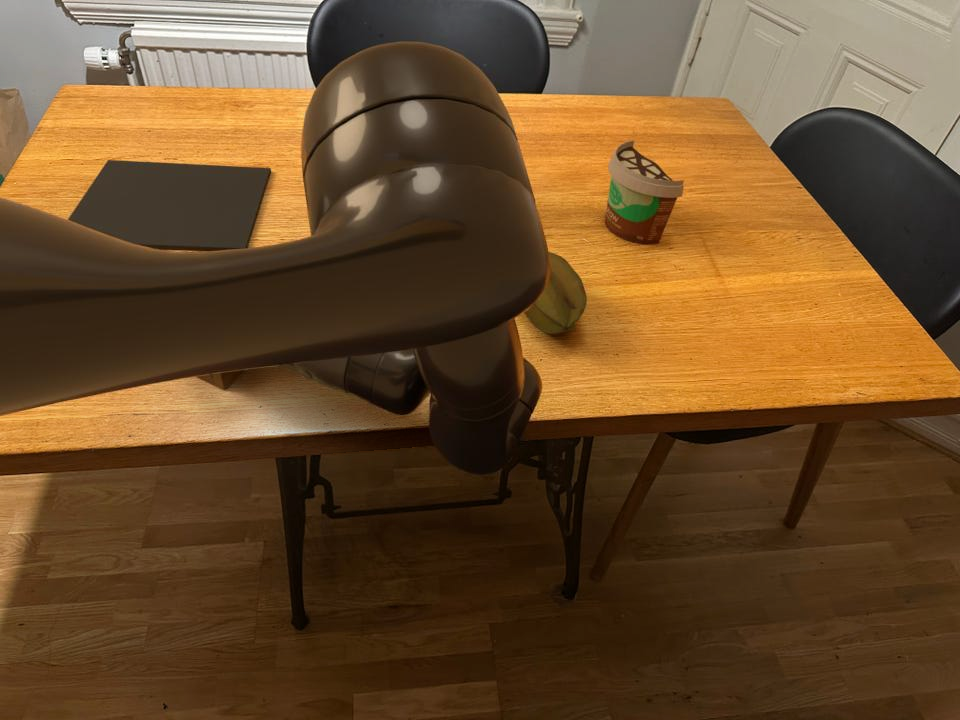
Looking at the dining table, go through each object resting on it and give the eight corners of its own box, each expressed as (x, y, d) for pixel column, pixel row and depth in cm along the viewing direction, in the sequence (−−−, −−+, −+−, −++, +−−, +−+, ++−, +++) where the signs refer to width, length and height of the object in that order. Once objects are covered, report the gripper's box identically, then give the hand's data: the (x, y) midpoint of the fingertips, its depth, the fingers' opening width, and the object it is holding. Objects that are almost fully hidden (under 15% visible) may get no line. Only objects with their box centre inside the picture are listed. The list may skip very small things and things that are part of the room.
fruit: (601, 302, 84) (613, 257, 79) (565, 360, 76) (576, 314, 71) (515, 271, 87) (522, 226, 82) (472, 324, 79) (477, 277, 74)
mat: (54, 245, 82) (53, 240, 82) (109, 163, 97) (107, 159, 96) (245, 252, 85) (245, 248, 84) (271, 171, 99) (270, 167, 99)
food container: (579, 209, 99) (593, 143, 93) (615, 202, 102) (631, 138, 95) (627, 257, 92) (646, 189, 85) (665, 249, 94) (686, 182, 87)
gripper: (367, 267, 65) (222, 212, 70) (268, 356, 55) (107, 284, 60) (368, 328, 70) (233, 272, 75) (278, 419, 60) (129, 348, 65)
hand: (178, 278), depth 67 cm, fingers closed on tape roll, 4 cm apart
